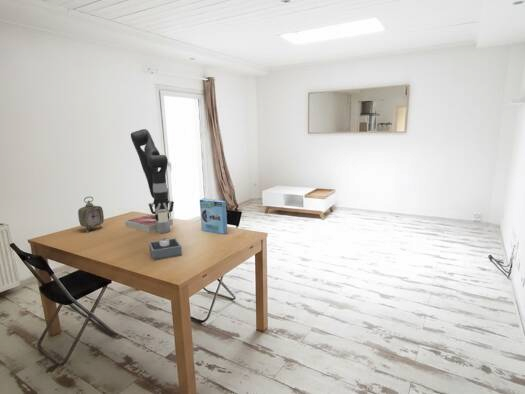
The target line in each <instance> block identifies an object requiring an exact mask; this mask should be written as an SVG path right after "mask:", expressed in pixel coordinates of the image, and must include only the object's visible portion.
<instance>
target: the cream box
mask: <svg viewBox="0 0 525 394" xmlns="http://www.w3.org/2000/svg"><path fill="white" fill-rule="evenodd" d="M158 222H159V223H162V222H168V213H167V211H166V210H162V211H158Z"/></svg>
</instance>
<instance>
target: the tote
mask: <svg viewBox="0 0 525 394" xmlns="http://www.w3.org/2000/svg"><path fill="white" fill-rule="evenodd" d="M168 239H169V242H170V248H164V249H160V244H159V240H156V241H150V242H148V245H149V253H150V255H151V258H152V260H153V261H157V260H163V259H168V258H174V257H175V258H176V257H178V256H179V257H180V256H182V254H183V253H182V245H181V244H180V242H179V241H178V239H177V238H176V237H175V238H168Z"/></svg>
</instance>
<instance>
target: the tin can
mask: <svg viewBox="0 0 525 394" xmlns="http://www.w3.org/2000/svg"><path fill="white" fill-rule="evenodd" d="M169 239H170V238H165V237H164V238H160V239H159V240H158V241H159V244H160V249H164V248H170V242H169Z"/></svg>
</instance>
